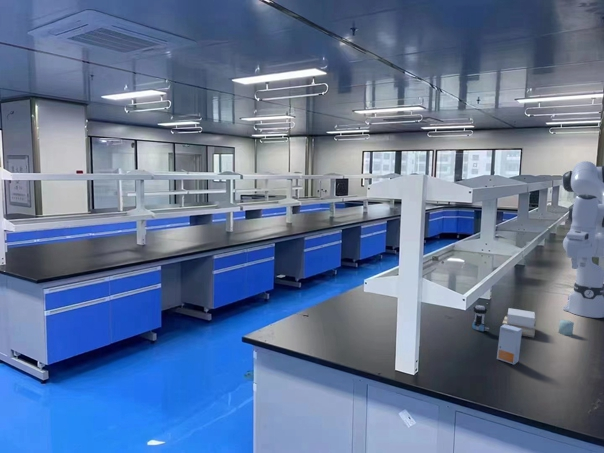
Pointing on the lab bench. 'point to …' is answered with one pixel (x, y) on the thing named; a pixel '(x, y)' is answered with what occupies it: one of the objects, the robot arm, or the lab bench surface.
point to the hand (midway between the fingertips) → (578, 267)
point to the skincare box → (509, 344)
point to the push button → (479, 318)
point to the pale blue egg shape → (566, 327)
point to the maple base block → (523, 328)
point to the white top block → (521, 317)
